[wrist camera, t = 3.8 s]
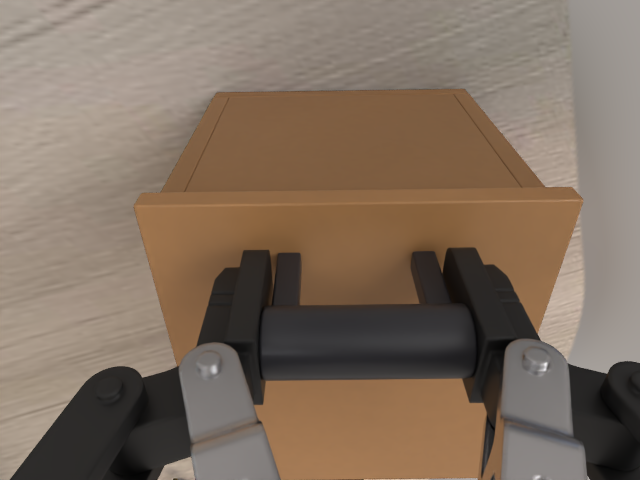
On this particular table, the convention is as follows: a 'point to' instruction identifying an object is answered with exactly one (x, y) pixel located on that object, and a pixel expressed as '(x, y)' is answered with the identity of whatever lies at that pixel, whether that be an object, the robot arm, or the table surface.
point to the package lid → (360, 311)
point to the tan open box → (347, 143)
